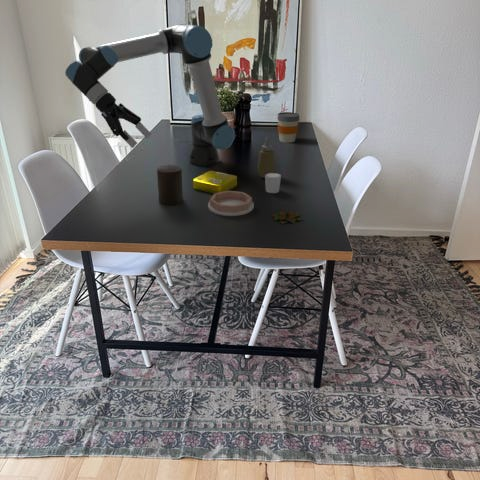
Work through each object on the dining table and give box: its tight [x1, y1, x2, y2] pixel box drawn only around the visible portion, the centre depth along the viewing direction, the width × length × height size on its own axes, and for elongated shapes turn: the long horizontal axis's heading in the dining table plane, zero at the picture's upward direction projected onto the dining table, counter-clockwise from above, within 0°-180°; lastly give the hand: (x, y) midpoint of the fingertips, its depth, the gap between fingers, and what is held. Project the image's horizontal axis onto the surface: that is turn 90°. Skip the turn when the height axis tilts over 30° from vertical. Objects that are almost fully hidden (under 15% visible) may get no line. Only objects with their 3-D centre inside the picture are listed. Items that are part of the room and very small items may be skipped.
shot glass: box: [264, 172, 282, 194], centre depth 194 cm, size 7×7×7 cm
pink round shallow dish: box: [207, 190, 255, 217], centre depth 179 cm, size 18×18×4 cm
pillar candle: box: [156, 164, 184, 206], centre depth 181 cm, size 10×10×15 cm
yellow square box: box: [192, 170, 238, 195], centre depth 199 cm, size 15×15×5 cm
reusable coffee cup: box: [277, 111, 300, 144], centre depth 263 cm, size 13×13×15 cm
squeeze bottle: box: [257, 137, 276, 179], centre depth 207 cm, size 8×8×18 cm
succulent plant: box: [271, 206, 303, 225], centre depth 170 cm, size 12×12×5 cm
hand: (142, 140), depth 176 cm, fingers open, 13 cm apart
